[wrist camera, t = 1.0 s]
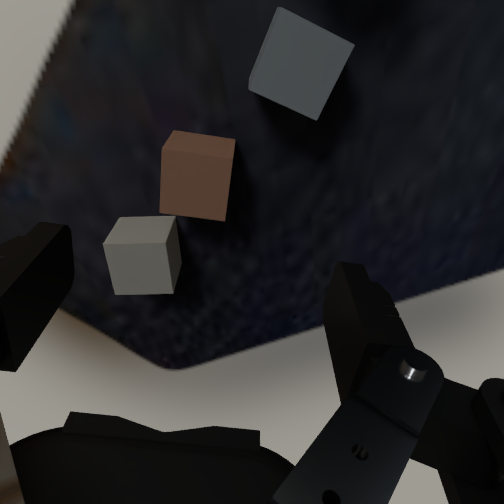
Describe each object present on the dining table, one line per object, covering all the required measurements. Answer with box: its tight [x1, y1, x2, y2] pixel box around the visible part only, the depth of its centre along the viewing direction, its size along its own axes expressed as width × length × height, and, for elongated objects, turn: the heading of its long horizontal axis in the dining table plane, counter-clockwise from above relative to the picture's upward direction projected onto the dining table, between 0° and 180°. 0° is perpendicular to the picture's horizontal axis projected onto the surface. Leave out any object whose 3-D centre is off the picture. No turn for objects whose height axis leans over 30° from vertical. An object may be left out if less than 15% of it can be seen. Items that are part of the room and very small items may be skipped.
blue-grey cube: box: [249, 7, 354, 121], centre depth 28 cm, size 5×5×5 cm
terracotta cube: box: [160, 130, 236, 221], centre depth 32 cm, size 5×5×5 cm
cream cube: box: [103, 216, 182, 295], centre depth 36 cm, size 5×5×5 cm
